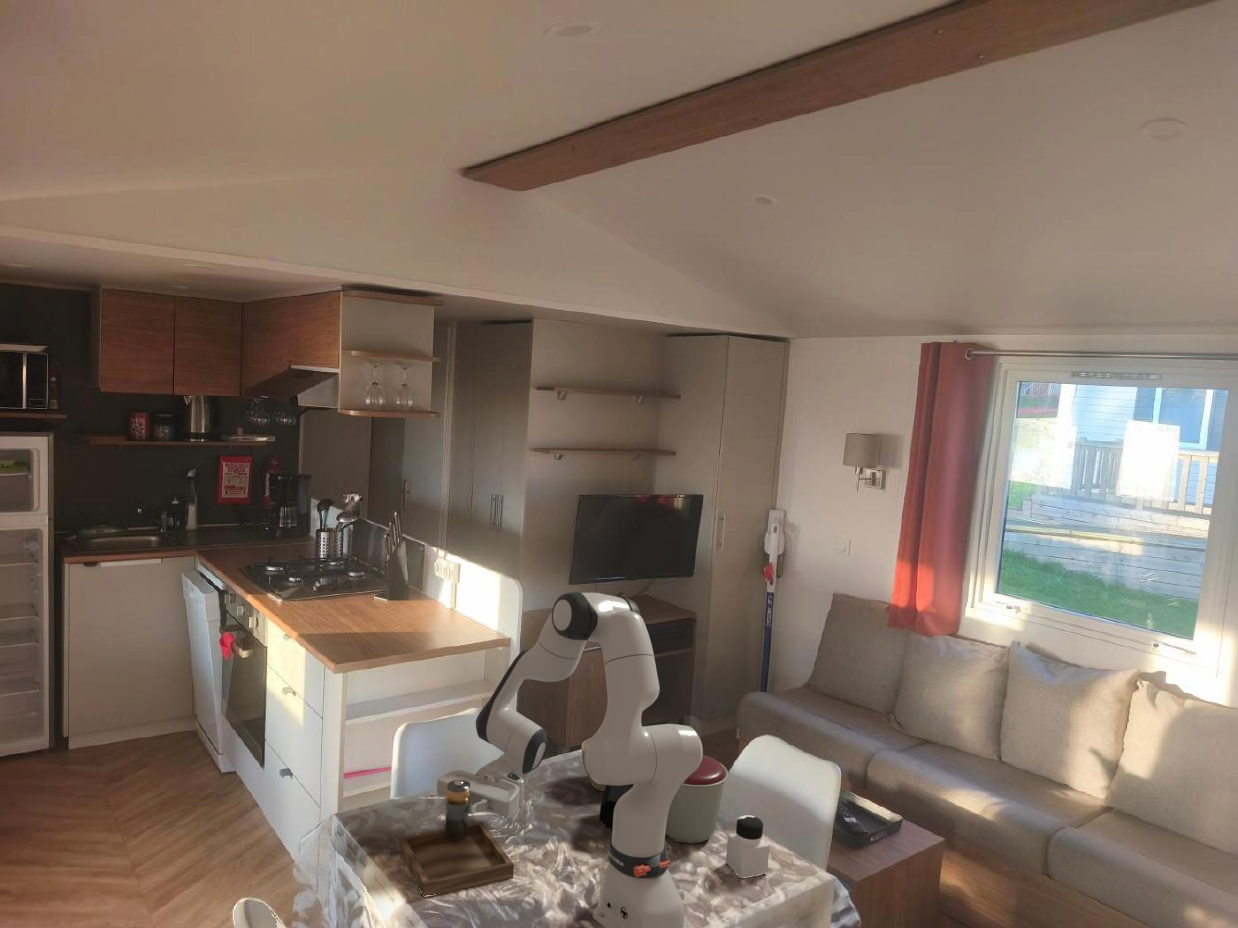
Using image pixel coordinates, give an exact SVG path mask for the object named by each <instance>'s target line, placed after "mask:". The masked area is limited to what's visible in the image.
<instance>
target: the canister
mask: <svg viewBox="0 0 1238 928" xmlns="http://www.w3.org/2000/svg"><path fill="white" fill-rule="evenodd" d="M728 777H729V771H728V769H727V768H726V767H725V766H724V765H723V764H722V763H721V762H720V761H717V760H716V759H714V758H712V757H710V756H707V755H705V754H703V755H702V760H701V763H700V765H699V767H698V769H697V770H696V771H695V772H693V773H692V774H691V775H690V776H689V777H688V778H687V779H686V780H685V781H684V782H683V784H682V785H681V786H680V788H679V790H678V791H677V793H676V795H675V797H674V799H673V801H672V803H671V805H670V808H669V812H668V816H667V823H666V831H665V836H667V837H668V838H670V839H671V840H674V841H676V842H678V841H679V842H678V843H683V844H700V843H704V842H706V841H707V840H708V839H710V838H711V837H712V835H713V834H714V832H715V829H716V825H717V820H718V817H719V816H718V815H719V812H720V806H721V803H722V802H721V801H722V797H723V791H724V787H725V782H726V781H727V779H728Z"/></svg>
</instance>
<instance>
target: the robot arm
mask: <svg viewBox="0 0 1238 928" xmlns="http://www.w3.org/2000/svg"><path fill="white" fill-rule="evenodd" d="M588 642H593V643H599V645H600V647H601V652H602V658H603V665H604V666H603V667H604V674H605V680H606V681H605V682H606V690H607V691H606V693H607V695H606V696H607V707H606V712H605V716H604V718H603V721H602V723H601V725H600V726H599V728H598V730H597V731H596V732H595V733H594V734H593V735H592V737H590V738H591V739H590V738H589V739H590V740H589V742H588V744H587V747H586V750H585V755H584V760H585V766H586V769H587V772H588V774H589V775H590V777H591V778H592V779H593V780H594V781H595V782H596V783H597V784H603V785H614V786H621V785H629V784H634V786H633V787H632V788H631V789H630V790H629V791H628V792H626V793H625V794H624V795H623V796H621V797H620V799H619V800H618V801H617V803H616V805H615V808H614V815H613V829H612V832H611V838H610V840H609V844H608V847H607V848H608V850H607V853H608V855H607V857H608V864H607V865H606V866H607V867H606V868H605V871H604V873H603V875H602V878H601V883H600V890H599V895H598V896H599V897H598V903H597V906H595V908H594V909H593V911H592V918H593V920H595V921H596V922H597V923H598V924H599V925H601V926H602V927H603V928H693V926H692V925H691V922H689V919H688V918H687V917H686V915H685V906H684V905H685V904H684V900H685V892H684V890H683V889H682V888H677V885H676V883H675V881H674V875H673V874H672V873H670V871H669V867H670V866H671V865H670V864H669V863H671V860H669V859H668V851H667V846H666V842H665V839H666V834H665V831H666V823H667V816H668V812H669V808H670V805H671V803H672V801H673V799H674V797H675V795H676V793H677V791H678V790H679V788H680V786H681V785H682V784H683V782H684V781H685V780H686V779H687V778H688V777H689V776H690V775H691V774H692V773H693V772H695V771H696V770H697V769H698V767H699V765H700V763H701V760H702V755H704V753H703V751H704V750H703V743H702V741H701V738H700V736H699V734H698V733H697V732H696V730H695V729H694V728H693V727H691V726H689V725H684V724H683V725H682V724H676V723H675V724H674V723H665V724H663V723H662V724H654V725H645V726H643V725H642V714H643V712H644V711H645V710H646V709H647V708H649V707H650V706H652V705H653V703H654V702H655V701H657V698H658V697H659V694H660V688H661V687H660V682H659V677H658V671H657V665H656V660H655V654H654V649H653V645H652V644H653V643H652V641H651V638H650V633H649V631H648V629H647V626H646V624H645V621H644V618H643V617H642V616H641V611H640V608H639V606H638V605H637V603H636V602H634V601H633V600H631V599H630V598H627V597H624V596H618V595H617V596H615V595H610V594H604V593H601V592H580V591H573V592H572V591H571V592H567V593H564V594H562V595H560V596H559V597H558V598H557V599H556V600H555V602H554V604H553V606H552V611H551V612H550V614H549V615H548V617H547V619H546V621H545V623H544V625H543V627H542V629H541V631H540V634H539V636H538V639H537V641H536V643H535V645H533V647H531V649H524V650H522V651H520V653H519V654H518V655H516V657H515V659H514V660H513V661H512V663H511V664H510V665H509V668H508V669H507V670H506V672H505V673H504V675H503V677H502V678H501V680H500V682H499V684H498V685H497V687H496V688H495V690H494V692H493V693H492V695H491V697H490V698H489V700H488V701H487V703H485V705H484V706H483V708H482V709H481V710H480V712H479V713H478V715H477V717H476V719H475V729H476V733H477V737H478V738H479V739H480V740H483V741H484V742H486V743H487V744H490V745H493V747H496V748H497V749H498V750H499V751H501V752H503V753H502V754H501V755H500V756H499V757H498V758H495V759H493V760H491V761H490V762H488V763H487V764H485V765H484V766H482V767H480V768H479V769H478V770H477V771H476V773H474V774H473V773H471V772H468V771H464V770H460V769H457V770H452V771H450V772H447V773H445V774H444V775H441V776H439V777H438V779H437V780H436V794H438V795H440V796H443V797H444V798H443V805H444V806H446V802H447V801H446V798H447V785H448V783H449V782H451V781H453V780H458V779H460V780H465V781H468V782H469V783H470V800H469V805H468V806H467V813H469V815H475V813H478V812H479V813H480V812H485V811H487V812H490V813H492V814H496V815H499V816H502V817H508V816H511V815H512V814H514V813H516V811H517V810H518V809H519V808H520V807H521V806H523V802H524V797H525V784H526V783H527V782H528V781H529V780H531V778H532V777H533V776H535V774H536V773H537V772H538V769H539V768H540V765H541V763H542V761H543V759H544V757H545V755H546V752H547V750H548V738H547V733H546V731H545V729H544V728H543V727H541V726H540V725H538V724H537V723H535V722H534V721H533V720H531V719H529V718H527V717H526V716H524V715H523V714H521V713H520V712H518V711H517V710H515V709H514V708H513V706H512V704H511V702H512V700H513V698H514V697H515V696H516V693H517V692H518V690H519V689H520V687H521V685H522V683H523V682H524V681H525V680H534V681H540V682H545V683H554V682H560V681H563V680H565V679H568V678H569V677H570V676H571V675H572V674H574V671H575V670H576V669H577V667H578V664H579V662H580V660H581V657H582V654H583V652H584V649H585V646H586V643H588Z"/></svg>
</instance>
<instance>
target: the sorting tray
mask: <svg viewBox="0 0 1238 928" xmlns="http://www.w3.org/2000/svg"><path fill="white" fill-rule="evenodd" d="M399 850H400V852H399V854H400V853H401V854H400V856H401V855H402V856H403V858H404V860H405V862H406V864H407V865H406V864H405V865H406V867H407V866H408V867H407V869H408V868H409V869H408V871H409V870H410V871H409V873H410V872H411V873H410V875H411V874H412V875H411V877H412V876H413V877H412V879H413V878H414V879H415V881H416V883H417V885H418V887H419V888H420V890H421V892H422V894H423V895H424V896H426V895H434V894H439V893H444V894H447V893H446V892H448V893H452V892H451V891H453V892H457V891H461V890H465V889H470V888H474V887H478V886H482V885H487V884H492V883H496V882H500V881H504V880H509V879H512V878H514V871H515V870H514V869H515V864H514V863H513V861H512V860H511V859H510V858H509V856H508V854H507V853H506V851H505V850H504V849H503V848H502V846H501V845H500V843H499V842H498V841H497V839H496V838H495V837H494V836H493V834H492V833H491V832H490V830H489V829H488V827H487V826H486V824H485V823H484V822H483V821H482V822H481V821H480V822H476V823H471V824H470V823H468V831H467V838H466V839H465V840H463V841H461V842H450V841H447V840H446V839H445V828H444V829H438V830H432V831H429V832H423V833H419V834H413V835H408V836H404V837H402V836H401V837H399V840H398V851H399ZM402 856H401V857H402ZM403 858H402V859H403ZM404 860H403V861H404ZM405 862H404V863H405ZM414 879H413V880H414ZM415 881H414V882H415ZM416 883H415V884H416ZM417 885H416V886H417ZM418 887H417V888H418ZM419 888H418V889H419ZM420 890H419V891H420ZM421 892H420V893H421ZM422 894H421V895H422Z"/></svg>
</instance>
